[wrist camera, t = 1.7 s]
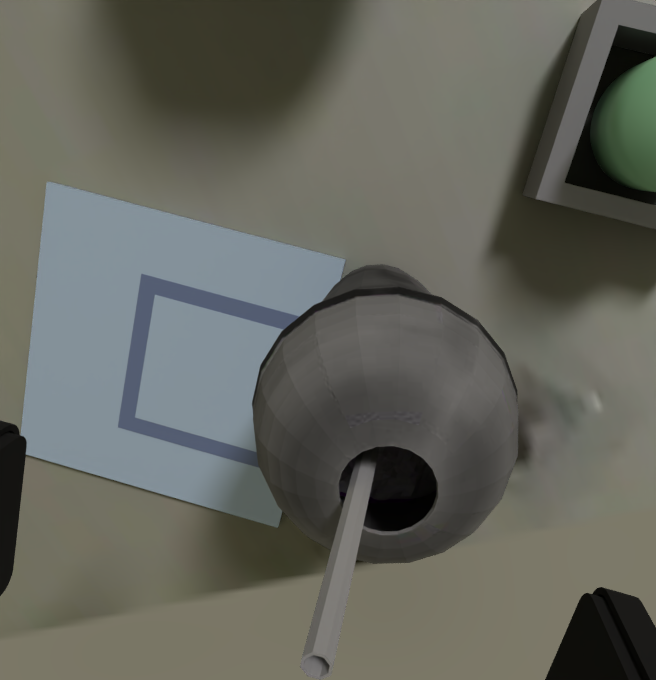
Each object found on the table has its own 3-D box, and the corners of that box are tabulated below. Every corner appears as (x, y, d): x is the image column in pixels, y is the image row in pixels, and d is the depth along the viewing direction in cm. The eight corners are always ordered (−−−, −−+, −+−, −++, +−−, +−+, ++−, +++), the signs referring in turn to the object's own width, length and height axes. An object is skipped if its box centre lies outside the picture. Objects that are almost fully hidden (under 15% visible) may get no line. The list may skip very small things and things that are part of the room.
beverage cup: (471, 373, 29) (682, 815, 9) (317, 403, 30) (224, 863, 10) (443, 215, 27) (634, 371, 8) (279, 253, 28) (78, 477, 8)
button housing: (763, 57, 24) (812, 42, 21) (689, 237, 26) (724, 246, 23) (581, 14, 24) (604, -7, 21) (522, 195, 26) (535, 198, 23)
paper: (345, 259, 28) (344, 260, 27) (279, 524, 32) (277, 528, 32) (50, 181, 29) (46, 182, 28) (22, 449, 33) (18, 452, 32)
